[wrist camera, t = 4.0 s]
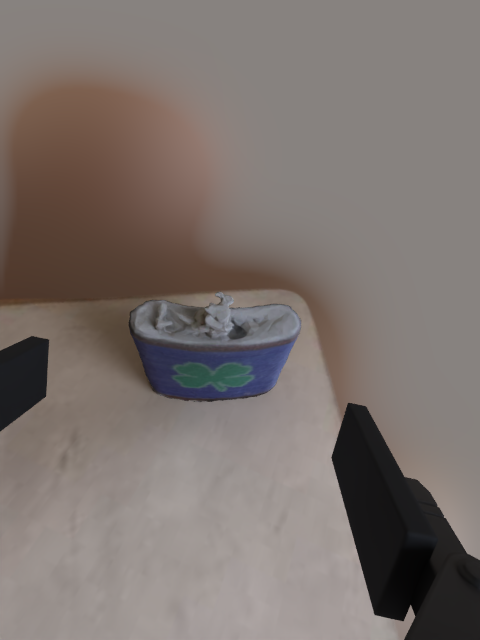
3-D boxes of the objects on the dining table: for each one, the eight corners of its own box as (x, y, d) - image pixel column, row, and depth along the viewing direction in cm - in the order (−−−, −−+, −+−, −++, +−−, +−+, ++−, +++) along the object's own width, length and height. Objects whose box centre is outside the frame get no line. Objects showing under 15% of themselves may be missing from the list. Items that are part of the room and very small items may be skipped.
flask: (274, 363, 27) (308, 282, 18) (277, 401, 26) (316, 335, 16) (151, 363, 26) (119, 278, 17) (147, 402, 25) (110, 333, 16)
